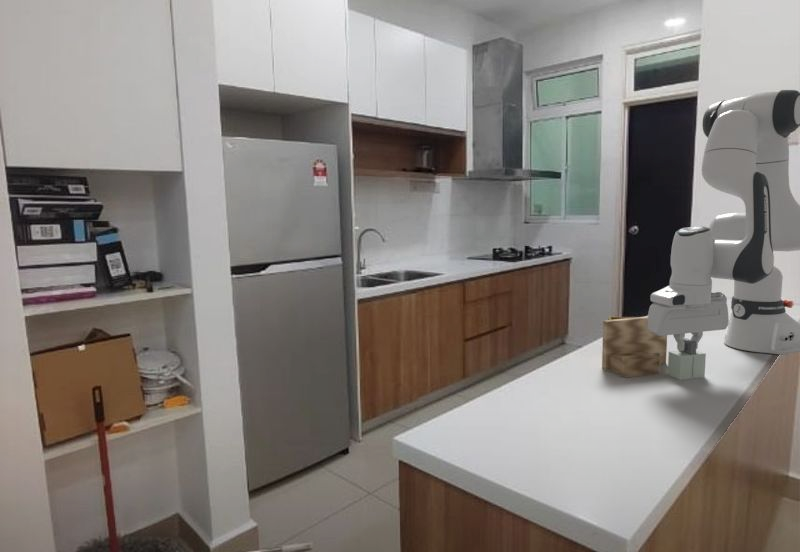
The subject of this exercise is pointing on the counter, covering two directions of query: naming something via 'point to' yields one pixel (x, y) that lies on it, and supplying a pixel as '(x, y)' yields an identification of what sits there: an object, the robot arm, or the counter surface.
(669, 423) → the counter surface
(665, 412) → the counter surface
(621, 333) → the wall board
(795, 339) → the robot arm
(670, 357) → the pale green box
